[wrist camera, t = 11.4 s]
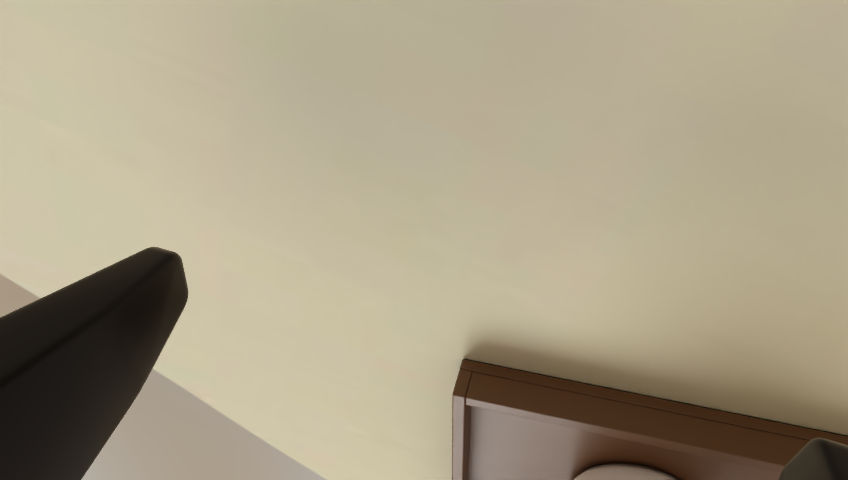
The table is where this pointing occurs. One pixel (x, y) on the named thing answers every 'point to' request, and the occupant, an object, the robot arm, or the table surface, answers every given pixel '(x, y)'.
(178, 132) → the table surface
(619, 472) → the can
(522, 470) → the tray
